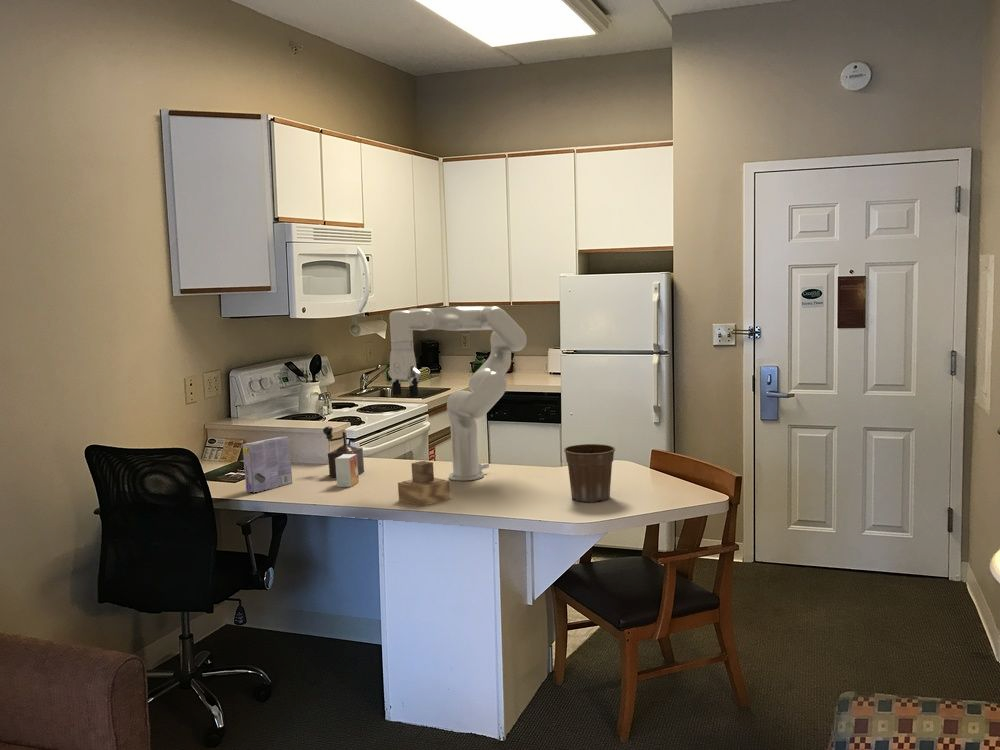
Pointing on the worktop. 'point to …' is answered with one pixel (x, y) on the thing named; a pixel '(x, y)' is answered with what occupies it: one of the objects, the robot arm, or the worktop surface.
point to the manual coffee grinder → (342, 452)
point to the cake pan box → (267, 464)
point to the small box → (347, 470)
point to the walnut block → (422, 471)
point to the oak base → (424, 491)
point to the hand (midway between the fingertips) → (405, 395)
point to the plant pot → (590, 471)
